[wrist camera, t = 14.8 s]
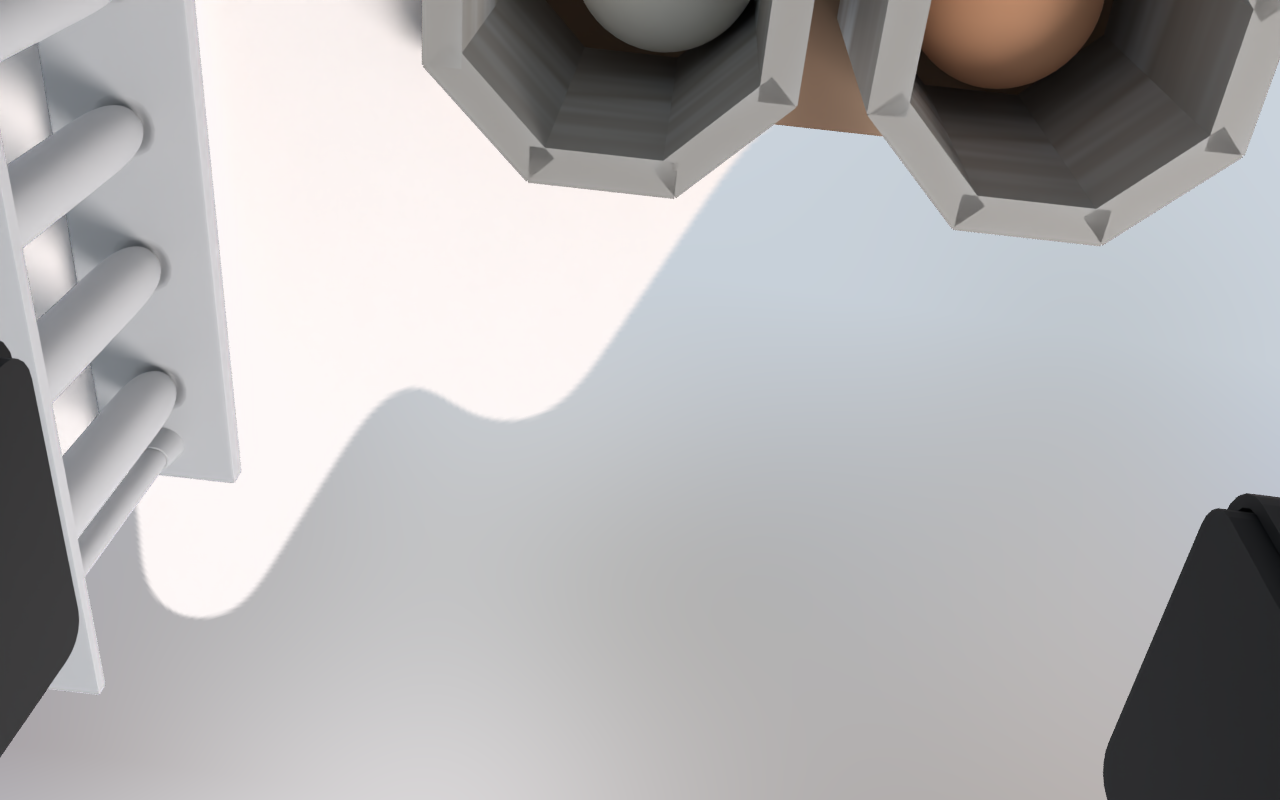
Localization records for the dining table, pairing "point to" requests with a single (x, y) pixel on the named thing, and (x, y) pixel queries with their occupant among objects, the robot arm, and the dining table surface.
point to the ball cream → (666, 21)
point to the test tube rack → (119, 269)
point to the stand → (871, 103)
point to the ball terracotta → (1006, 38)
